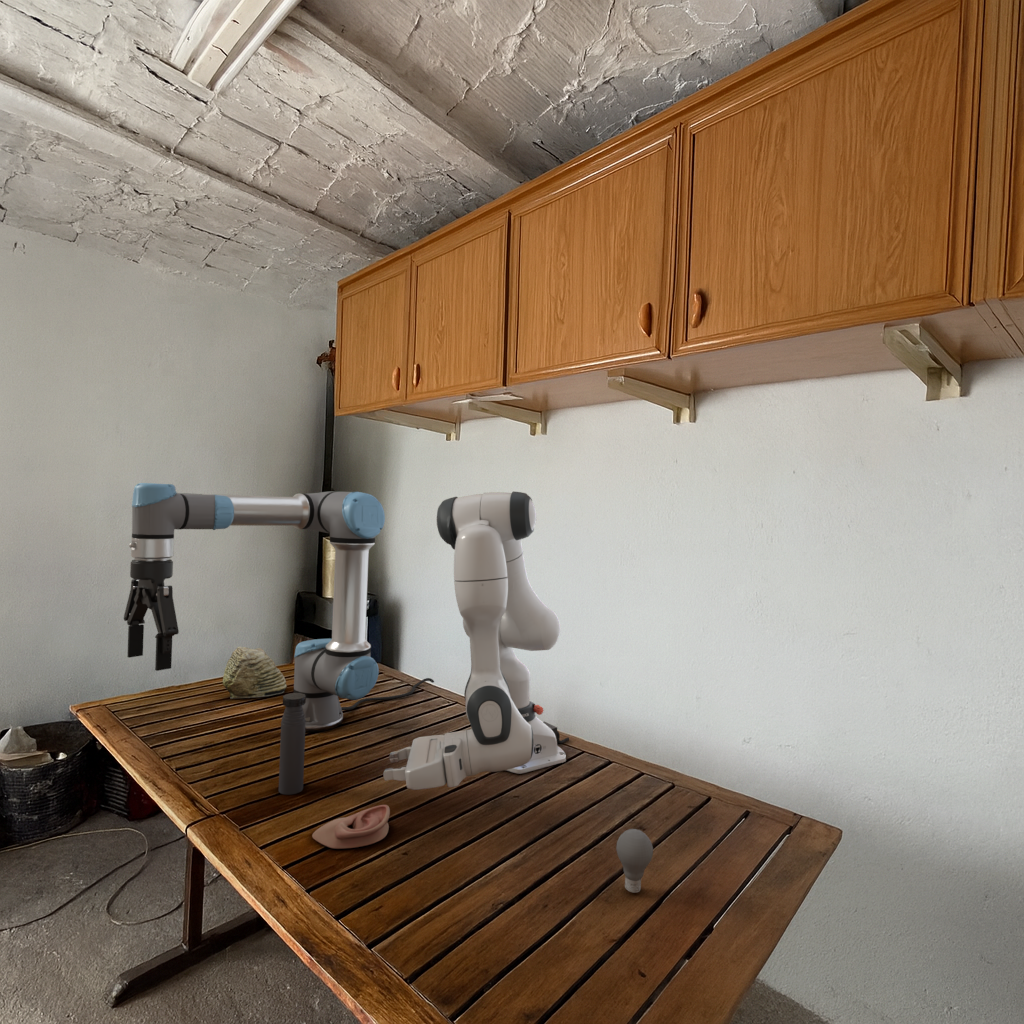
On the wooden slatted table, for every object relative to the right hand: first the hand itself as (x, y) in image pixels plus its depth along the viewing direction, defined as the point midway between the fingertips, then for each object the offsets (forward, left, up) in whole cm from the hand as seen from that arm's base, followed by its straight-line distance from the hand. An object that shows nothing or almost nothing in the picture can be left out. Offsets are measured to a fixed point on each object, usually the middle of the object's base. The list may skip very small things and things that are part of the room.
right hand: (387, 766), depth 128 cm
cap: (+16, -17, +10) cm, 26 cm away
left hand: (+44, -22, +18) cm, 53 cm away
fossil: (+21, -87, -10) cm, 90 cm away
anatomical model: (+8, +6, -10) cm, 14 cm away
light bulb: (-32, +39, -10) cm, 52 cm away
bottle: (+16, -17, -10) cm, 26 cm away
